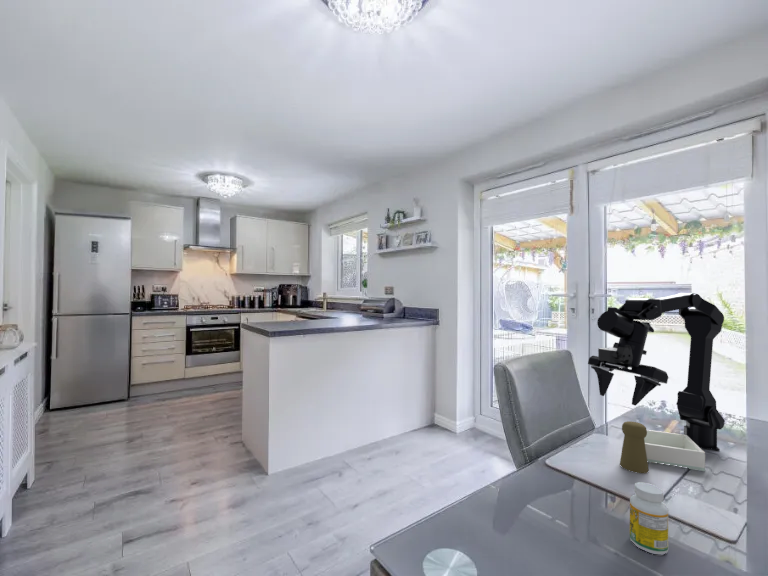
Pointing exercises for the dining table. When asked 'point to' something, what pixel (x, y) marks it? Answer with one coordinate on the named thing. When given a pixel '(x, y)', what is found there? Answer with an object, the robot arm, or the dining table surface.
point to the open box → (674, 450)
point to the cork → (634, 447)
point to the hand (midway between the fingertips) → (617, 400)
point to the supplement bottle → (649, 518)
